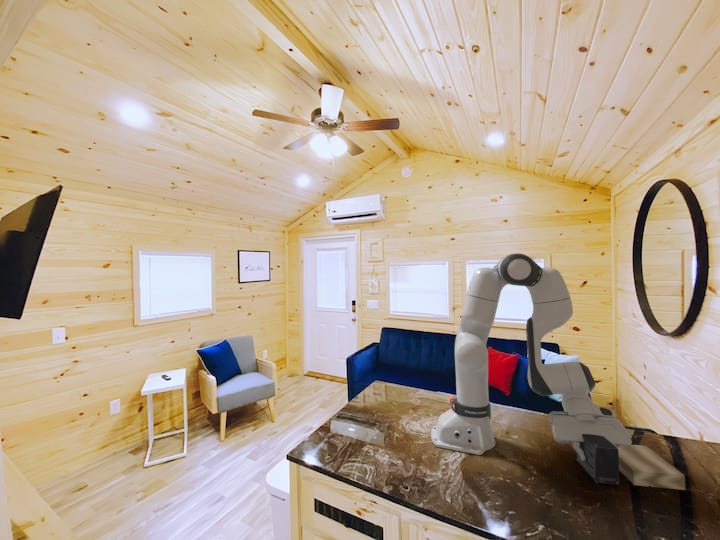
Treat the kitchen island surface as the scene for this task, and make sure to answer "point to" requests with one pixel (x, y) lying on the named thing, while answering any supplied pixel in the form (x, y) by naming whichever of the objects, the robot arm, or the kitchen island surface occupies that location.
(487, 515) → the kitchen island surface
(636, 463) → the plinth
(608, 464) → the small box
